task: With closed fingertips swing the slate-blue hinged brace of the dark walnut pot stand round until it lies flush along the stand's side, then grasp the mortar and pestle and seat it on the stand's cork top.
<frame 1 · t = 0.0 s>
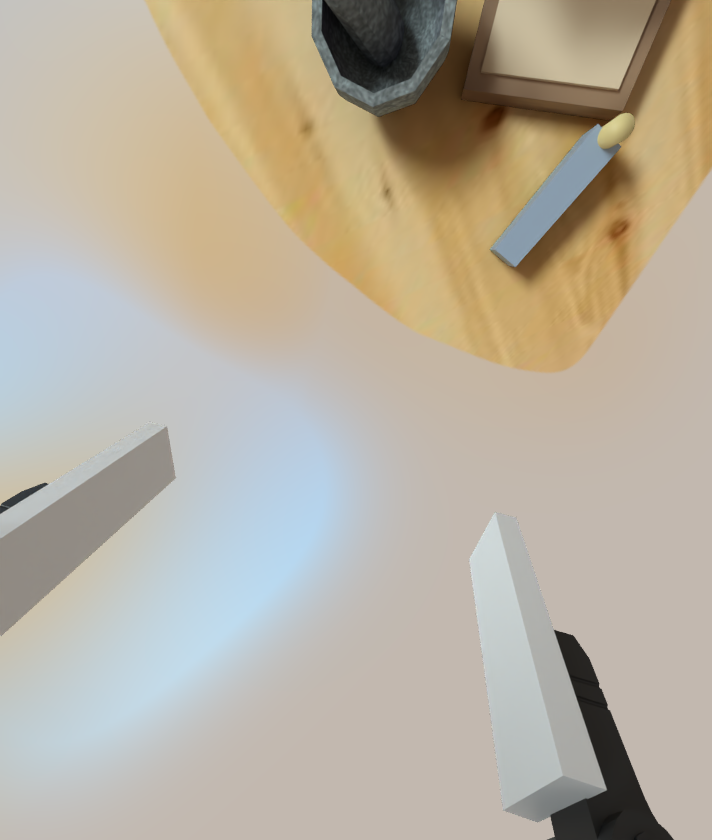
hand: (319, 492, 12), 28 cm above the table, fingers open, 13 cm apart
mortar and pestle: (385, 56, 26), on the table
brace: (554, 198, 26), point 2 cm above the table, hinge at -25.0°
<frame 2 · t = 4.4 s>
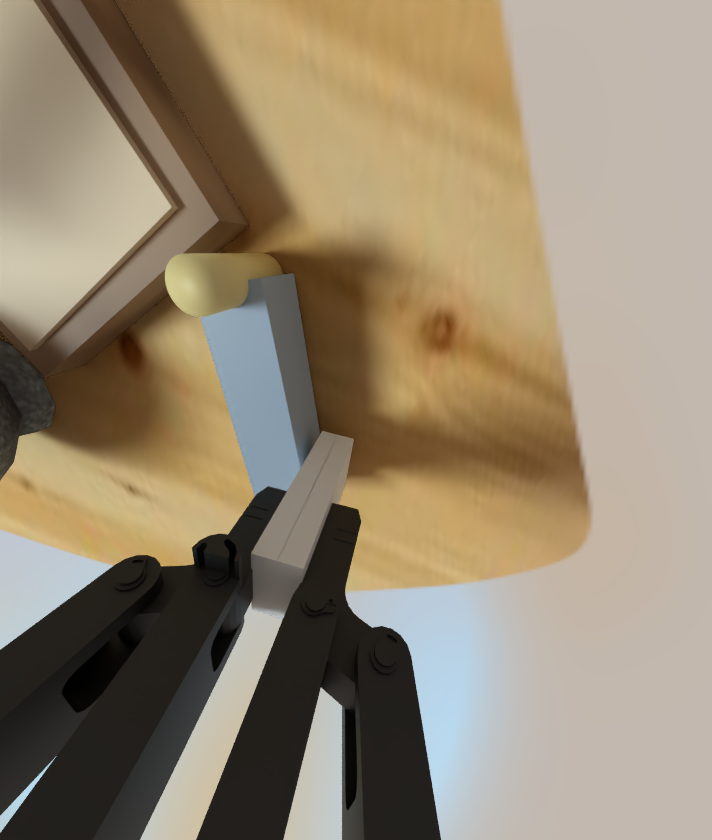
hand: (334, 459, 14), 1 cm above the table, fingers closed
stand: (44, 163, 12), on the table
mortar and pestle: (2, 385, 19), on the table
brace: (265, 405, 12), point 2 cm above the table, hinge at -25.2°, touching gripper
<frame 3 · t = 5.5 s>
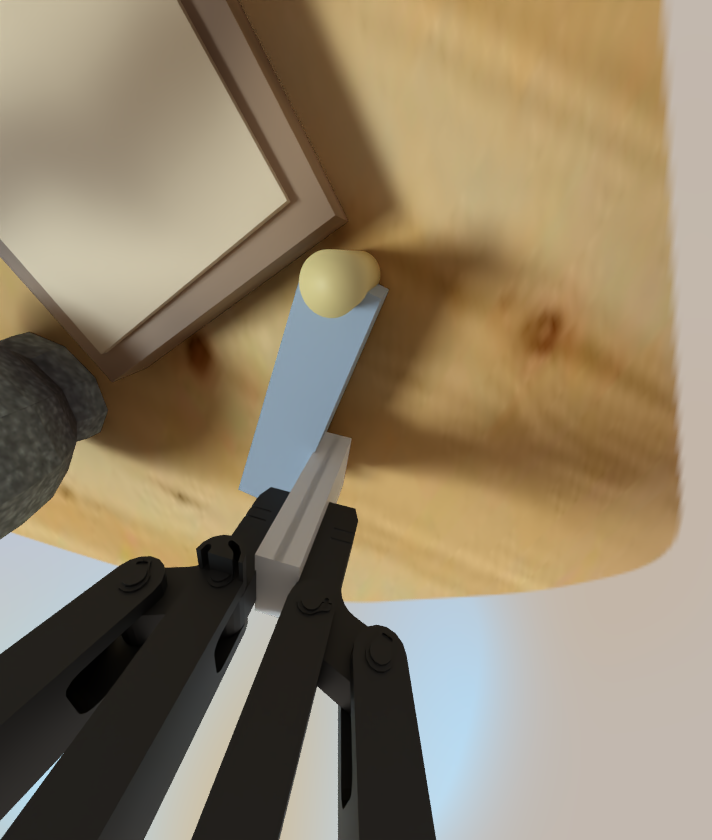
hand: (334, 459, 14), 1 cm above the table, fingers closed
stand: (127, 155, 11), on the table
mortar and pestle: (50, 390, 18), on the table
brace: (303, 398, 12), point 2 cm above the table, hinge at -53.1°, touching gripper
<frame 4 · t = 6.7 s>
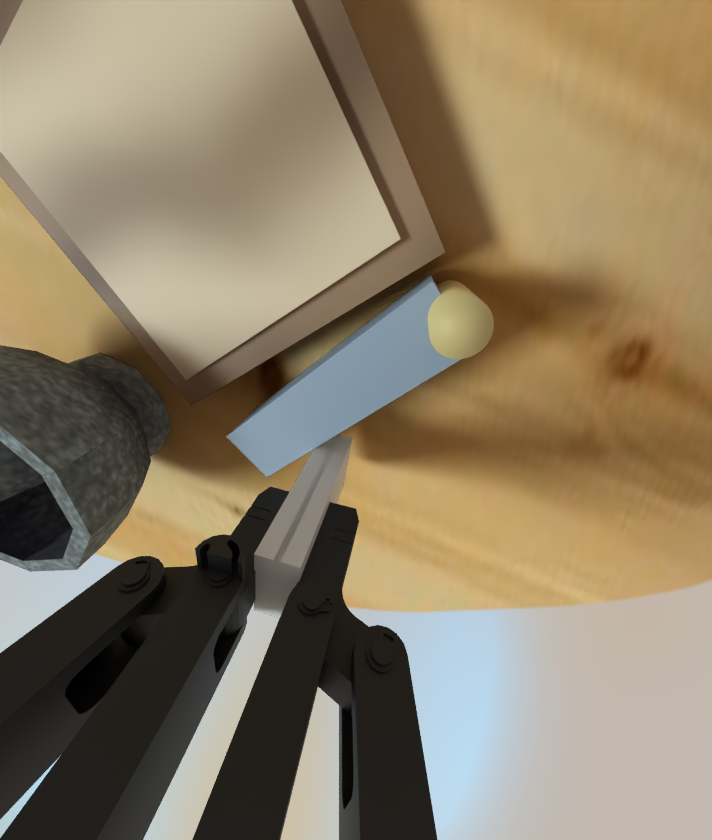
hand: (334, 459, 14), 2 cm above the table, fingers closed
stand: (220, 186, 12), on the table
mortar and pestle: (113, 407, 18), on the table
brace: (343, 388, 12), point 2 cm above the table, hinge at -82.5°, touching gripper
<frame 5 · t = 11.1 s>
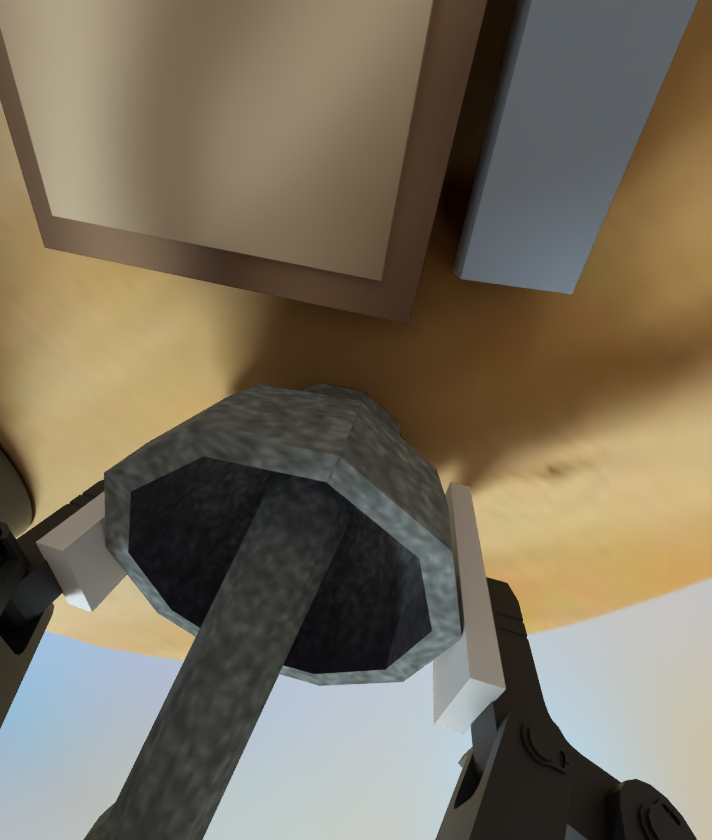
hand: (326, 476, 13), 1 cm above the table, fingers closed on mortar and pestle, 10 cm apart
stand: (245, 35, 8), on the table
mortar and pestle: (331, 455, 15), on the table, touching gripper
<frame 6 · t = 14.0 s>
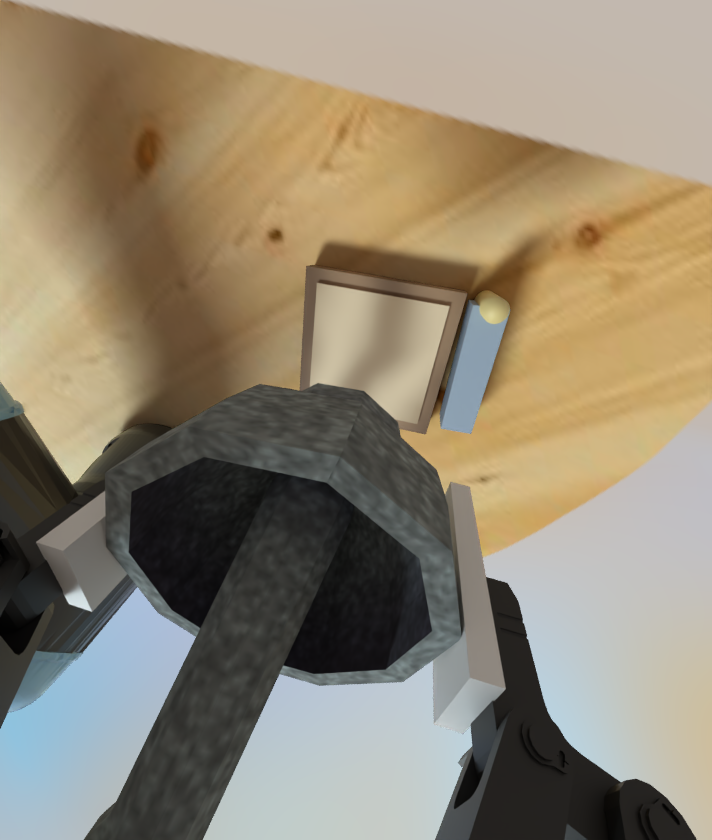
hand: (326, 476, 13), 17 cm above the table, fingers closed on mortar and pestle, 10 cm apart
stand: (374, 351, 28), on the table
mortar and pestle: (331, 455, 15), point 15 cm above the table, touching gripper
brace: (472, 368, 24), point 2 cm above the table, hinge at -87.2°
when the fingers open (5 cm above the table, at t = 16.8 s): mortar and pestle drops 2 cm, resting on stand.
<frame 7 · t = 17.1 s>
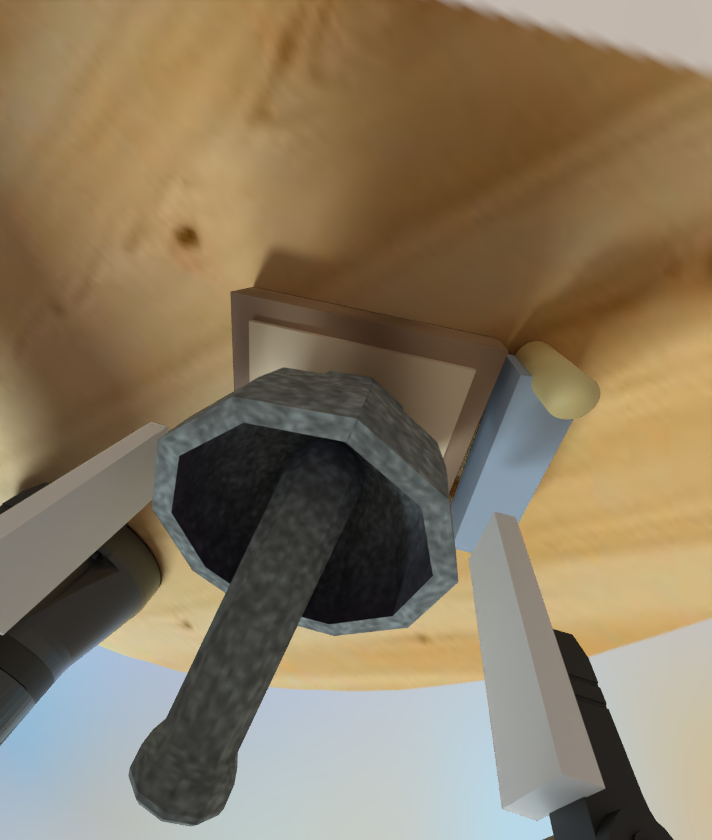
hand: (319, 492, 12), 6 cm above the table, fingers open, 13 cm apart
stand: (351, 419, 18), on the table
mortar and pestle: (341, 438, 16), point 2 cm above the table, touching stand
brace: (508, 467, 15), point 2 cm above the table, hinge at -87.2°
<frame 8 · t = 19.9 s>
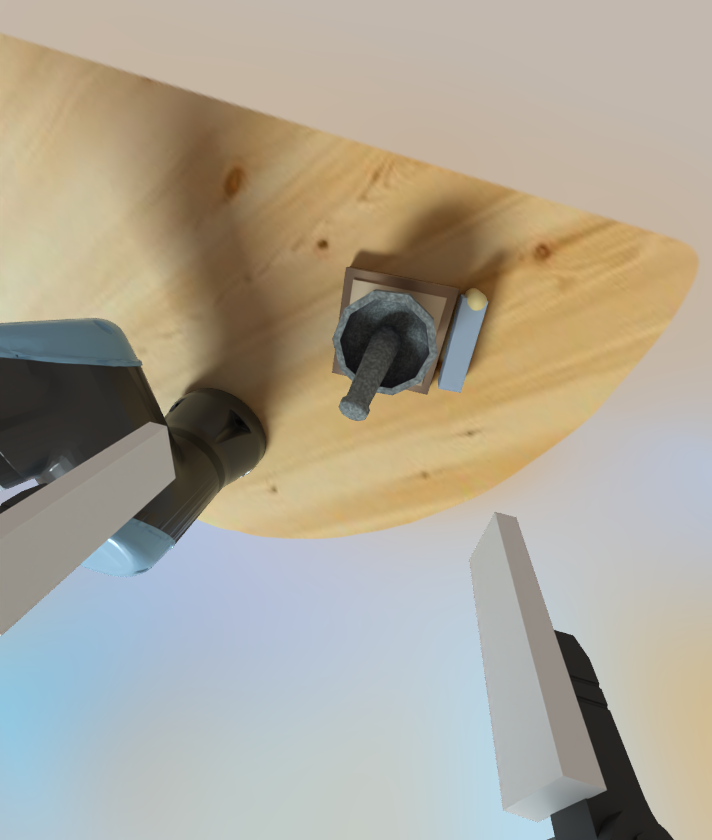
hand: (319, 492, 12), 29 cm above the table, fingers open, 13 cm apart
stand: (391, 331, 37), on the table
mortar and pestle: (388, 335, 35), point 2 cm above the table, touching stand
brace: (462, 343, 34), point 2 cm above the table, hinge at -87.2°
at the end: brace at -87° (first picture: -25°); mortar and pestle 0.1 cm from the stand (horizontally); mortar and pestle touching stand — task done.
